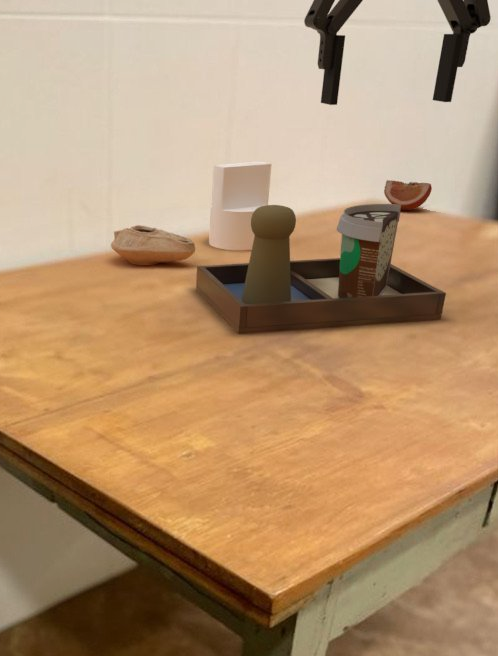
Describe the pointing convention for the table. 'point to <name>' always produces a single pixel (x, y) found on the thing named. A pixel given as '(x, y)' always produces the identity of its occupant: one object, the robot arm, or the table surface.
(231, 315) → the sorting tray
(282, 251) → the olive knobbed cone
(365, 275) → the food container
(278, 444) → the table surface
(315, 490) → the table surface
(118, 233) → the pottery oil lamp
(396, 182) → the fruit slice
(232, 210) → the cylinder with rectangular tab
